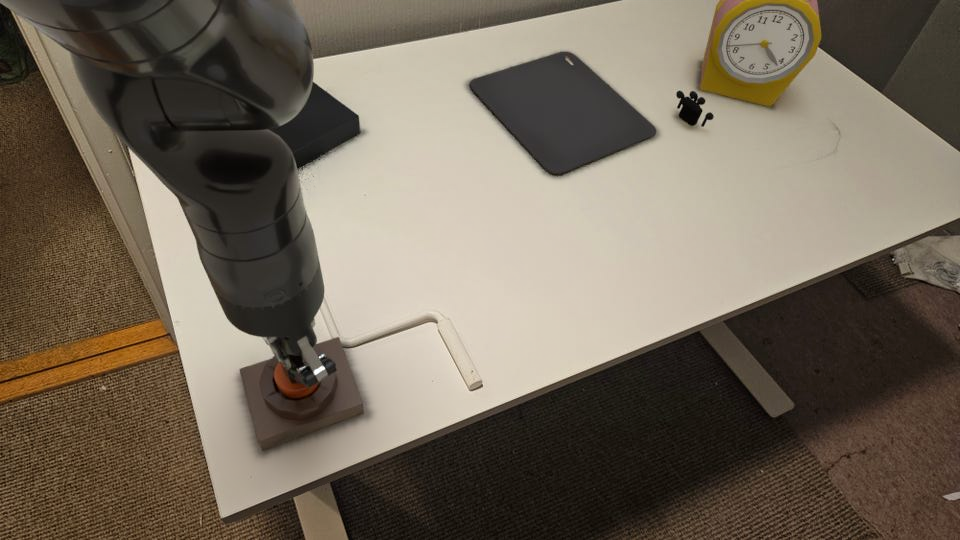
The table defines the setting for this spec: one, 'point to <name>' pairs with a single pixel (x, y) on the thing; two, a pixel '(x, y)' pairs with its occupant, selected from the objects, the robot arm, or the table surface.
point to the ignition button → (291, 385)
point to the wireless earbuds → (692, 108)
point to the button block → (298, 417)
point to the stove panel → (318, 127)
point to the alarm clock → (759, 47)
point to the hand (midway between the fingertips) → (298, 372)
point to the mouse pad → (562, 111)
